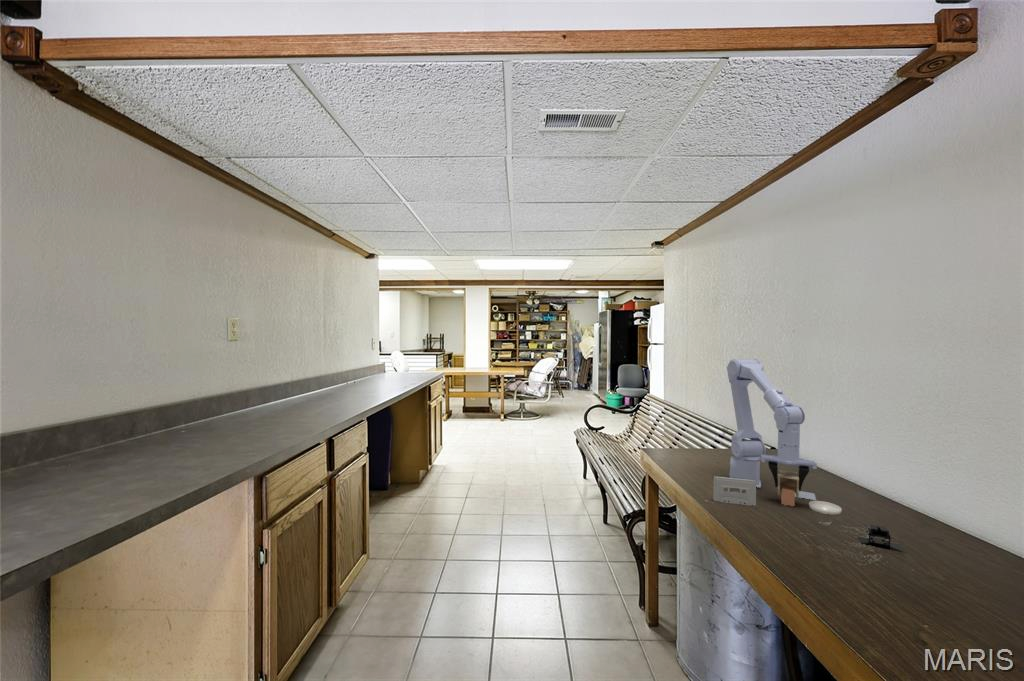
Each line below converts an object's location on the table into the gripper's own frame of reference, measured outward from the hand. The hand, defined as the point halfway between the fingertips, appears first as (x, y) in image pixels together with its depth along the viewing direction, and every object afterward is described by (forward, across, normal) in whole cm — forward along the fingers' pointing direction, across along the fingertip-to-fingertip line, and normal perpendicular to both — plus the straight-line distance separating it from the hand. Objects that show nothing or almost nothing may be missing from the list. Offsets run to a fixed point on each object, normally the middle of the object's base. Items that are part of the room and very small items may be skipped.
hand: (787, 487), depth 138 cm
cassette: (+5, -14, -8) cm, 17 cm away
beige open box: (+2, 0, 0) cm, 2 cm away
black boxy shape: (+5, +19, -20) cm, 28 cm away
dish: (+5, +10, 0) cm, 11 cm away
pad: (+5, +5, +11) cm, 13 cm away
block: (+5, 0, 0) cm, 5 cm away
